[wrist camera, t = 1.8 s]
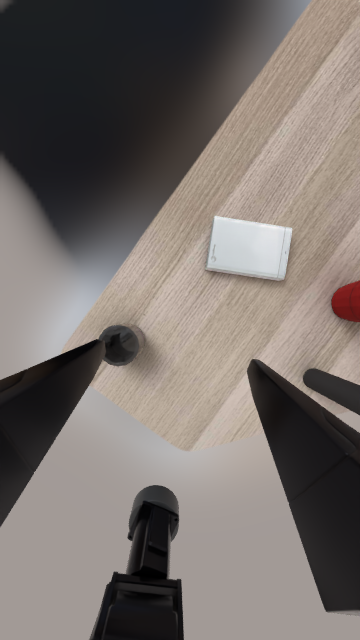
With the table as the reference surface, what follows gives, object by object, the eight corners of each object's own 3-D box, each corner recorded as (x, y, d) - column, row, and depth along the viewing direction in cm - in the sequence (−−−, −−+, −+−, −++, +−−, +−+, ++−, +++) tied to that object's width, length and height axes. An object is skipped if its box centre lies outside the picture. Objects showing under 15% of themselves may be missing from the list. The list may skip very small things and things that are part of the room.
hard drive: (206, 267, 24) (285, 279, 24) (214, 214, 24) (294, 226, 24) (204, 270, 25) (278, 281, 25) (212, 221, 25) (286, 232, 25)
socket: (131, 365, 26) (122, 374, 22) (103, 344, 26) (89, 349, 22) (152, 337, 26) (146, 341, 22) (124, 316, 25) (113, 316, 21)
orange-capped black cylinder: (325, 385, 26) (461, 450, 13) (305, 390, 26) (422, 459, 13) (321, 365, 26) (453, 412, 13) (300, 370, 26) (415, 421, 13)
